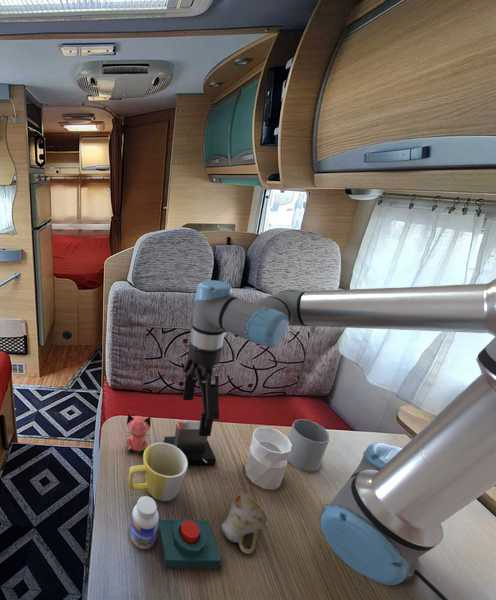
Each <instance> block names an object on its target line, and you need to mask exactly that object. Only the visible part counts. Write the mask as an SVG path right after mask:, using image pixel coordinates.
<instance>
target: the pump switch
mask: <svg viewBox="0 0 496 600" xmlns="http://www.w3.org/2000/svg"><path fill="white" fill-rule="evenodd" d="M186 520H190V521H193V522H194V523H195V524H196V525H197V526H198V528H199V537H198V540H197V542H196V543H194V544H190V543H187V542H185V541H184V540H183V539H182V537H181V534H180V530H181V525H182V523H183V522H184V521H186ZM157 532H158V537H159V542H160V548H161V552H162V557H163V558H162V559H163V564H164V567H165V568H221V564H222V557H221V555H220V552H219V549H218V546H217V542H216V540H215V537H214V534H213V531H212V528H211V524H210V521H209V520H207V519H192V518H190V517H180V518H179V519H158V527H157Z"/></svg>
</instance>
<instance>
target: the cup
mask: <svg viewBox="0 0 496 600" xmlns="http://www.w3.org/2000/svg"><path fill="white" fill-rule="evenodd" d="M288 439H289V441H290V442H291V444H292V447H291V452H290V456H289V457H288V458H287V462H289V463H290V464H291V465H292V466H293V467H294V468H297V469H299V470H302V471H305V472H309V473H310V472H311V473H312V472H317V471H318V470H319V468H320V467H321V465H322V461H323V459H324V455H325V453H326V450H327V447H328V444H329V442H330V439H331V438H330V433H329V432H328V431H327V430H326V428H324V426H322V425H320V424H318V422H314V421H312V420H310V419H303V418H300V419H296V420H294V421H293V423H292V425H291V428H290V432H289V435H288Z"/></svg>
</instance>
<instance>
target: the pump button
mask: <svg viewBox="0 0 496 600" xmlns="http://www.w3.org/2000/svg"><path fill="white" fill-rule="evenodd" d="M180 534H181V537H182V539H183V540H184V541H185V542H187V543H190V544H194V543H196V542H197V540H198V537H199V528H198V526H197V525H196V524H195V523H194V522H193V521H190V520H186V521H184V522H183V523H182V525H181V530H180Z"/></svg>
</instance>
